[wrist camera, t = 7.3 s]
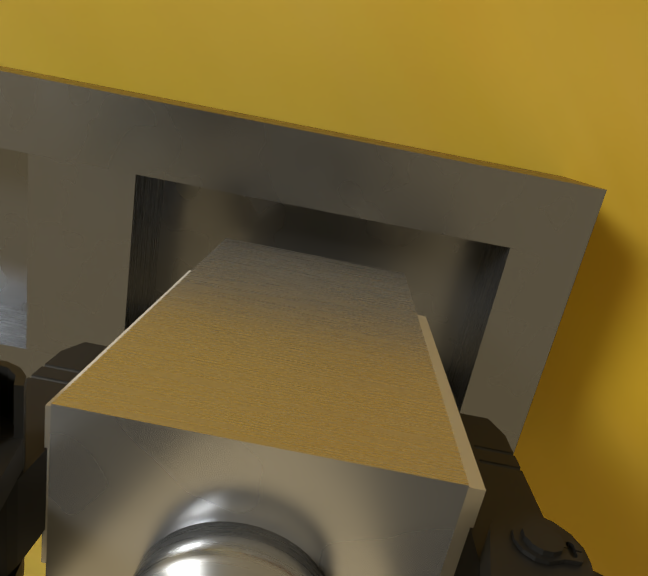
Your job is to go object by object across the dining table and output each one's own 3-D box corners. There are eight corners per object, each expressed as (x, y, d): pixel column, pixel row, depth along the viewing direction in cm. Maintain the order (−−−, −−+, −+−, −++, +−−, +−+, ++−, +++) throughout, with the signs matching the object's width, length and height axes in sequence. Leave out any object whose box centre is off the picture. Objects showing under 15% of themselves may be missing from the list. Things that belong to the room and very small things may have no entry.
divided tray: (-308, 5, 17) (-444, -17, 14) (564, 177, 17) (606, 190, 14) (-258, 299, 20) (-360, 330, 17) (478, 441, 20) (498, 496, 17)
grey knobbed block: (226, 237, 13) (15, 436, 5) (404, 273, 13) (481, 527, 5) (204, 395, 15) (13, 751, 6) (365, 427, 15) (379, 821, 6)
